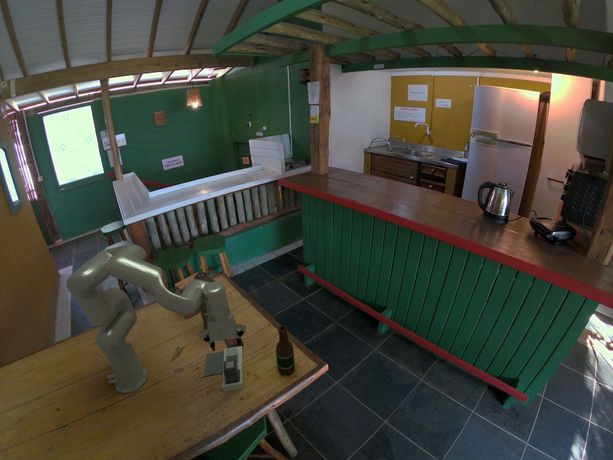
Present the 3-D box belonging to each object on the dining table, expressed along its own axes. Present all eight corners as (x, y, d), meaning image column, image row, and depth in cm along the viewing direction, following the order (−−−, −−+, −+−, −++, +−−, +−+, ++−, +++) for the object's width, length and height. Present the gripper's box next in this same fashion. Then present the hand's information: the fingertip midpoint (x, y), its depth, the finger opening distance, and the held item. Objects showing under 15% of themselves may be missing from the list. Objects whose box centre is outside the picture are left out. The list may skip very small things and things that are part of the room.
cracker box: (188, 320, 167) (179, 288, 157) (182, 315, 170) (173, 283, 161) (210, 306, 176) (203, 275, 167) (204, 301, 180) (197, 271, 170)
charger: (226, 384, 129) (223, 370, 125) (227, 374, 133) (223, 360, 130) (238, 382, 130) (236, 368, 126) (238, 372, 134) (236, 358, 130)
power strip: (223, 391, 129) (220, 378, 125) (225, 353, 146) (222, 341, 142) (243, 388, 130) (240, 375, 126) (242, 350, 147) (240, 338, 144)
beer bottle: (275, 365, 139) (270, 324, 128) (291, 359, 142) (288, 318, 131) (281, 379, 133) (276, 337, 122) (298, 372, 135) (295, 331, 124)
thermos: (229, 329, 160) (217, 272, 144) (209, 343, 152) (195, 285, 136) (218, 321, 165) (206, 266, 149) (199, 335, 157) (184, 277, 141)
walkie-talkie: (247, 345, 150) (234, 320, 166) (246, 339, 148) (233, 313, 164) (230, 353, 147) (218, 326, 162) (228, 346, 145) (217, 320, 160)
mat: (204, 377, 135) (204, 376, 135) (206, 355, 146) (206, 354, 145) (223, 373, 136) (223, 372, 136) (224, 352, 147) (224, 351, 147)
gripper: (193, 323, 111) (203, 357, 119) (243, 315, 114) (249, 349, 122) (196, 309, 118) (204, 342, 125) (242, 302, 120) (248, 335, 128)
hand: (226, 346), depth 124 cm, fingers open, 9 cm apart
